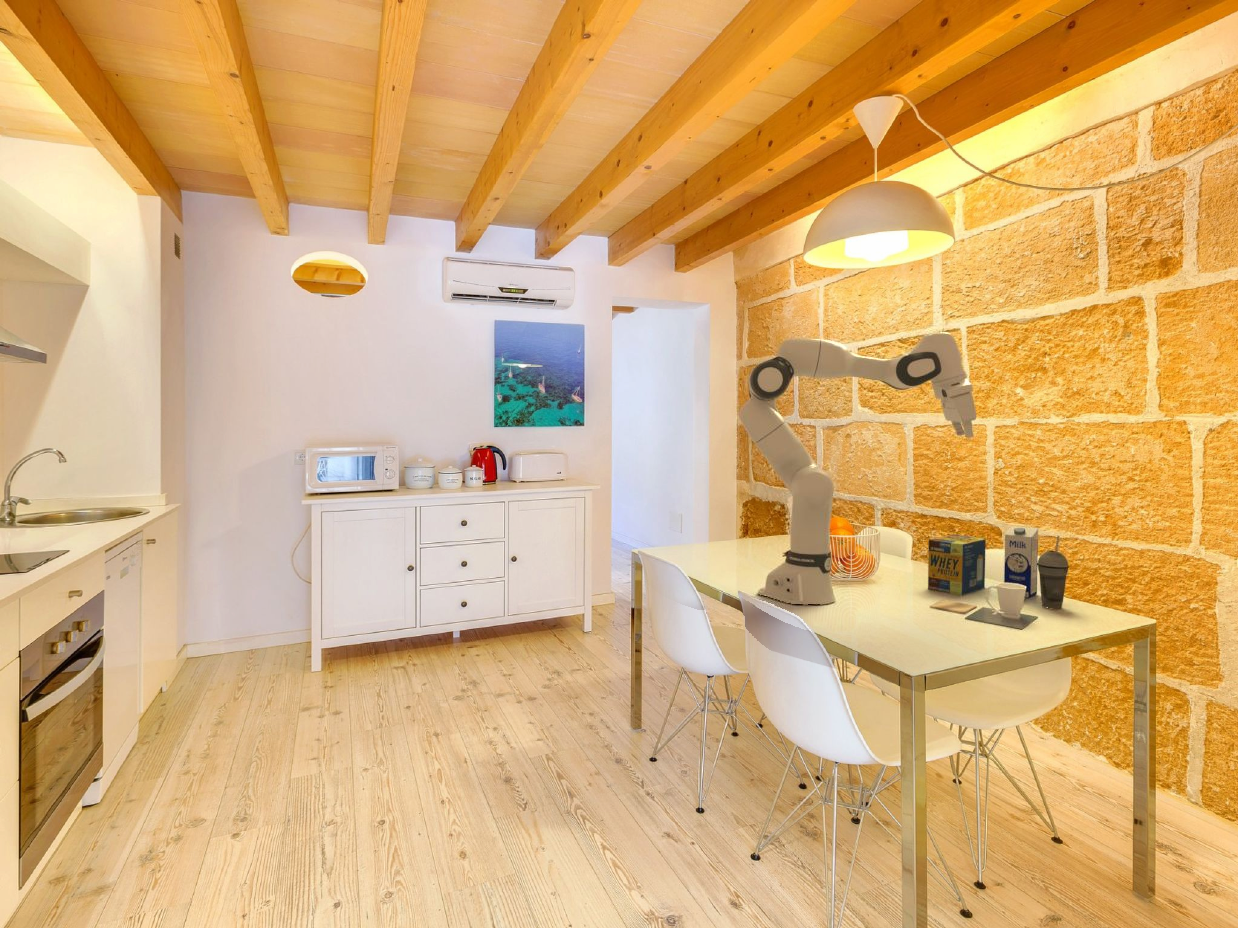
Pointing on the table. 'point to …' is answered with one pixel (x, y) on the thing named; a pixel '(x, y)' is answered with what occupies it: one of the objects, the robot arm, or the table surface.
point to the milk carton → (1022, 558)
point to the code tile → (1000, 618)
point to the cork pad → (953, 606)
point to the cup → (1009, 599)
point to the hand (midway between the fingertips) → (965, 436)
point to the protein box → (956, 564)
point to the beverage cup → (1052, 577)
